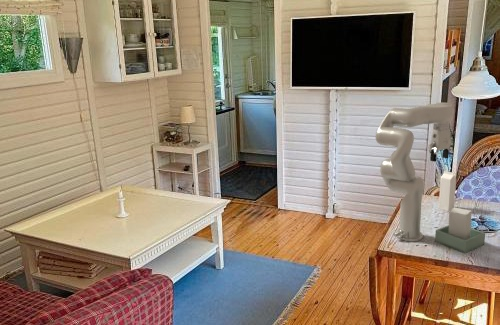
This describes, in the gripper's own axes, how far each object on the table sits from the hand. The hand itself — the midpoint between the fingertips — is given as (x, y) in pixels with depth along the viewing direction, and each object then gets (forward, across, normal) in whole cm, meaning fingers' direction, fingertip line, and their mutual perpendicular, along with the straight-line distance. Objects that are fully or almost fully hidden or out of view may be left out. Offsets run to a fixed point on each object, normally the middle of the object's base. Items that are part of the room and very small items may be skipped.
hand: (439, 159), depth 231 cm
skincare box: (+32, -16, -25) cm, 44 cm away
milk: (+34, +17, +6) cm, 38 cm away
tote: (+33, -16, -25) cm, 45 cm away
